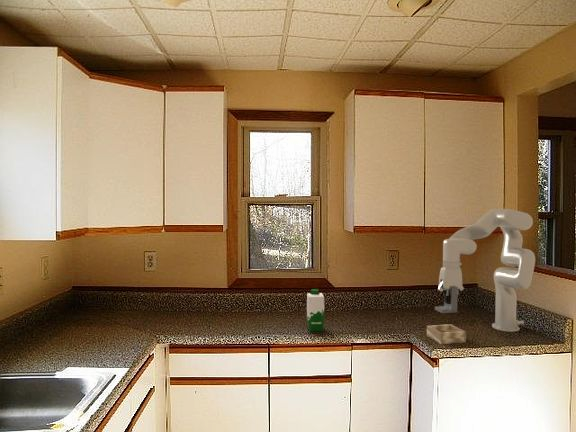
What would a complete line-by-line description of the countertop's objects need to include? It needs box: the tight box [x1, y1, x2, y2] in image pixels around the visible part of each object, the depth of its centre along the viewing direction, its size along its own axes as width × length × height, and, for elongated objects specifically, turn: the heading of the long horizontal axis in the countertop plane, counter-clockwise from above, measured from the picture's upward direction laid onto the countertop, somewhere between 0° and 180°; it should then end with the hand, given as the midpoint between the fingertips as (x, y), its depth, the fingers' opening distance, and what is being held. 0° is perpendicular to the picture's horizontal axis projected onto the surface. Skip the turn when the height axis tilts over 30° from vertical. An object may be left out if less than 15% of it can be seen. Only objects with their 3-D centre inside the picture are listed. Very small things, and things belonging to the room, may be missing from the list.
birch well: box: [426, 323, 467, 345], centre depth 191 cm, size 13×12×5 cm
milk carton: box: [306, 288, 325, 332], centre depth 206 cm, size 9×9×20 cm
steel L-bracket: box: [434, 287, 459, 314], centre depth 190 cm, size 8×6×12 cm
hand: (450, 302), depth 191 cm, fingers closed on steel L-bracket, 3 cm apart
